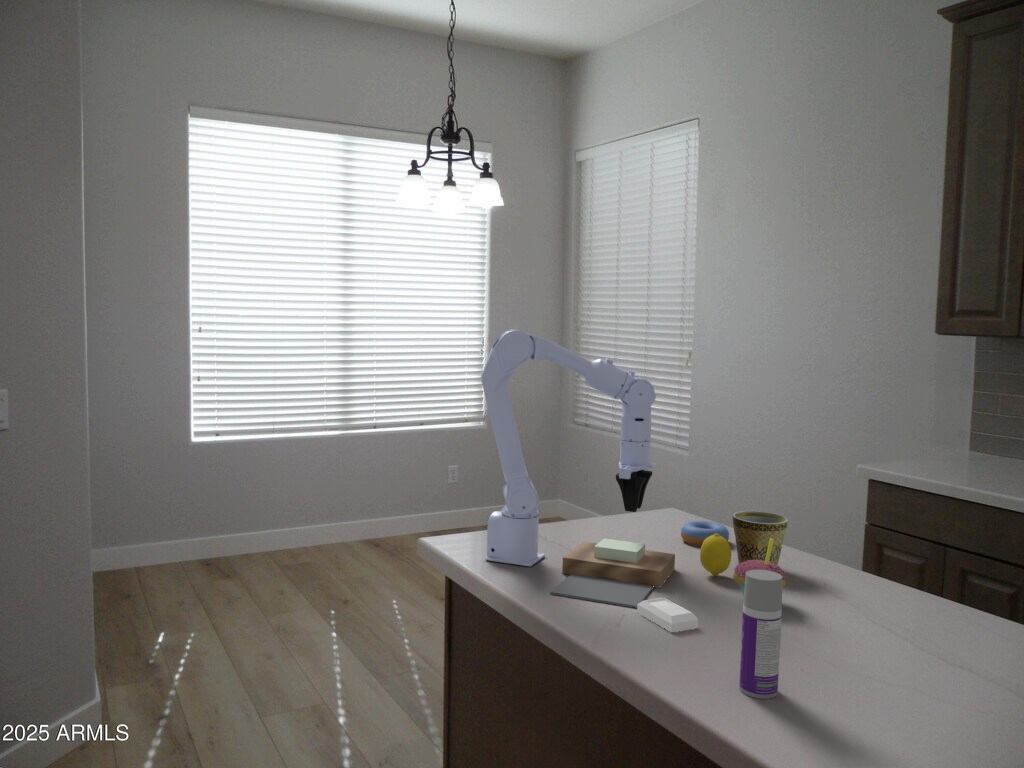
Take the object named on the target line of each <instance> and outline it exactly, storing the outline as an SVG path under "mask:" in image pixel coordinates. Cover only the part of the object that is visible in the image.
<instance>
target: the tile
mask: <svg viewBox="0 0 1024 768" xmlns="http://www.w3.org/2000/svg"><path fill="white" fill-rule="evenodd" d="M645 550H646V543H640V542H633V541H624V540H619V539H611V538H603V539H602V540H601V539H600V541H599V542H597V545H595V546H594V557H598V558H605V559H612V560H619V561H626V562H633V563H637V562H638V561H639V560H640V559H641V558H642V557H643V556H644V555H645Z"/></svg>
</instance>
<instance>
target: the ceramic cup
mask: <svg viewBox="0 0 1024 768" xmlns="http://www.w3.org/2000/svg"><path fill="white" fill-rule="evenodd" d="M788 521H789V520H788V518H787V517H786V516H784V515H781V514H778V513H773V512H769V511H768V512H767V511H760V510H741V511H736V512H734V513H733V514H732V525H733V532H734V537H735V543H736V544H735V545H736V553H737V560H738V564H740V563H742V562H744V561H746V560H754V559H755V560H762V561H765V559H766V554H767V549H768V544H769V540H770V538H772V535H774V536H773V539H774V541H773V546H772V550H771V555H770V560H769V561H771V562H772V563H775V564H776V565H778V564H779V560H780V556H781V552H782V548H783V544H784V540H785V537H786V531H787V528H788ZM778 566H779V565H778Z"/></svg>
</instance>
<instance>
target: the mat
mask: <svg viewBox="0 0 1024 768" xmlns="http://www.w3.org/2000/svg"><path fill="white" fill-rule="evenodd" d="M652 588H653V586H649V585H642V584H636V583H629V582H623V581H616V580H609V579H603V578H596V577H590V576H583V575H577V574H571V575H569V576H567V577H566V578H565V579H564V580H562V581H561V582H560V583H559V584H558V585H557V586H555V587H554V588H552V589H551V591H550V592H549V593H550V595H555V596H560V597H564V598H565V597H566V598H572V599H577V600H584V601H589V602H597V603H601V602H602V603H603V604H607V603H609V604H608V605H613V604H616V605H615V606H620V605H621V607H626V606H627V607H628V608H632V607H635V608H634V609H637V604H639V603H640V602H642V601H643V600H645V599H646V598H647V597H648V596H649V594H650V593H651V592H652V591H653V589H654V588H653V589H652ZM651 590H652V591H651ZM650 591H651V592H650ZM649 592H650V593H649ZM648 593H649V594H648ZM647 595H648V596H647ZM646 596H647V597H646ZM645 597H646V598H645ZM644 598H645V599H644ZM602 603H601V604H602ZM627 607H626V608H627Z"/></svg>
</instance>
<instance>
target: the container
mask: <svg viewBox="0 0 1024 768" xmlns="http://www.w3.org/2000/svg"><path fill="white" fill-rule="evenodd" d="M782 605H783V587H782V576H781V575H780V574H778V573H776V572H772V571H768V570H749V571H747V572H746V575H745V589H744V598H743V604H742V621H741V623H742V624H741V638H740V639H741V640H740V641H741V643H740V644H741V645H740V661H739V662H740V664H739V690H740V691H741V693H743V694H744V695H746V696H748V697H751V698H755V699H763V700H764V699H766V700H767V699H769V700H770V699H773V698H775V697H776V696H778V689H779V675H780V674H779V671H780V653H781V652H780V651H781V634H782V611H783V609H782Z"/></svg>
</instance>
